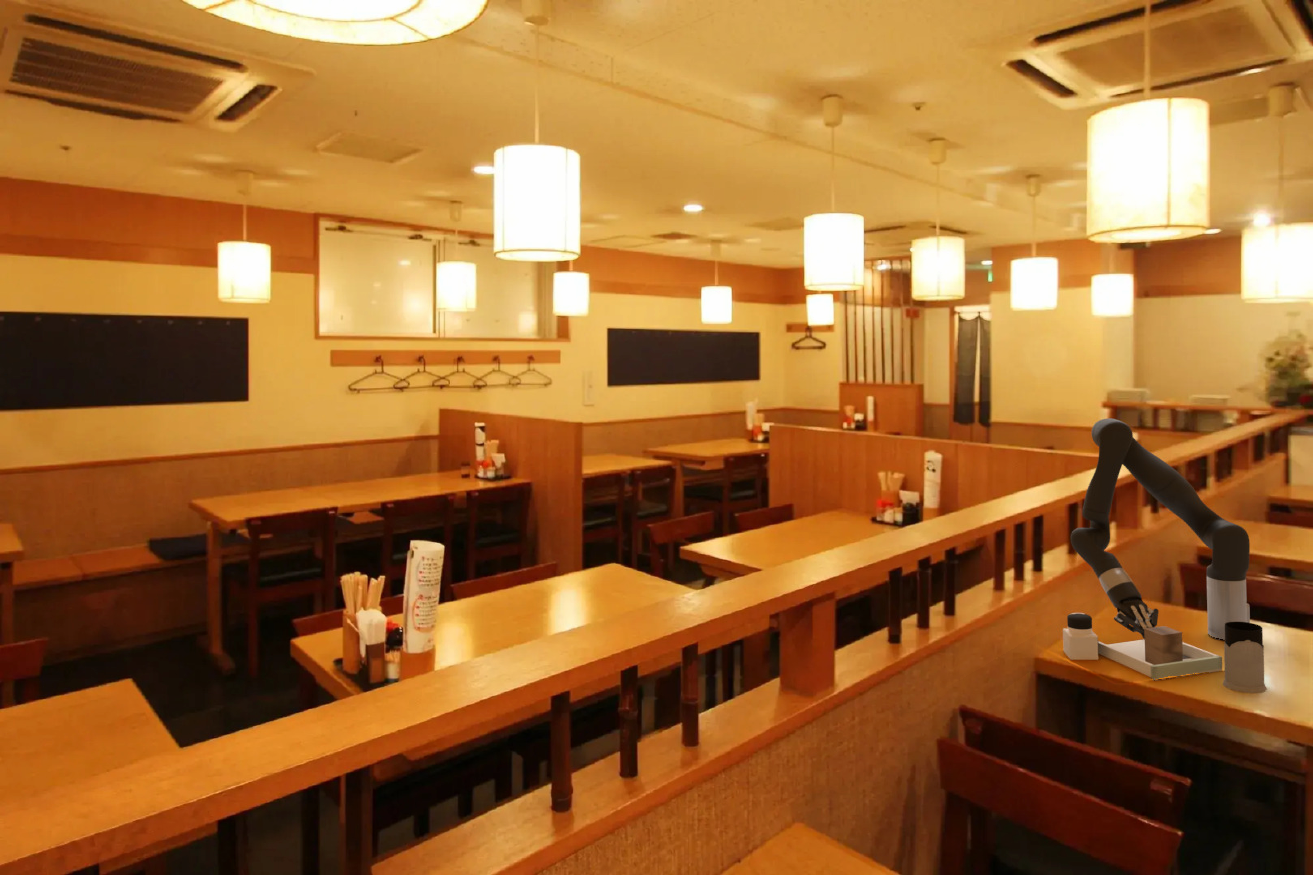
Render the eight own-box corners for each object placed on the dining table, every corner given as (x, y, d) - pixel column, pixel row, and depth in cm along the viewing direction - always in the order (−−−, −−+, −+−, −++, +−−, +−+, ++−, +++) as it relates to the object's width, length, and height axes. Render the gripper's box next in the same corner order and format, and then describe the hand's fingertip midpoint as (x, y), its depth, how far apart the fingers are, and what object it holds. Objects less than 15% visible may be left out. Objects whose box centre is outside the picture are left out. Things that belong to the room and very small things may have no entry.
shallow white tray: (1147, 640, 234) (1147, 628, 234) (1222, 670, 209) (1222, 656, 209) (1085, 649, 231) (1085, 637, 230) (1154, 680, 206) (1153, 666, 206)
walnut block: (1164, 658, 218) (1164, 625, 218) (1183, 666, 212) (1182, 632, 212) (1145, 661, 217) (1144, 628, 217) (1162, 668, 211) (1161, 635, 211)
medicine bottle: (1099, 661, 221) (1097, 618, 220) (1070, 661, 223) (1069, 618, 222) (1090, 652, 228) (1089, 610, 227) (1063, 652, 229) (1061, 610, 229)
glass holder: (1227, 691, 197) (1226, 630, 196) (1213, 670, 210) (1212, 613, 209) (1271, 694, 193) (1270, 632, 192) (1254, 673, 206) (1253, 615, 205)
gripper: (1105, 583, 225) (1139, 640, 214) (1147, 578, 228) (1183, 634, 216) (1092, 597, 231) (1125, 653, 220) (1133, 592, 233) (1168, 647, 222)
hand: (1154, 643), depth 218 cm, fingers closed
